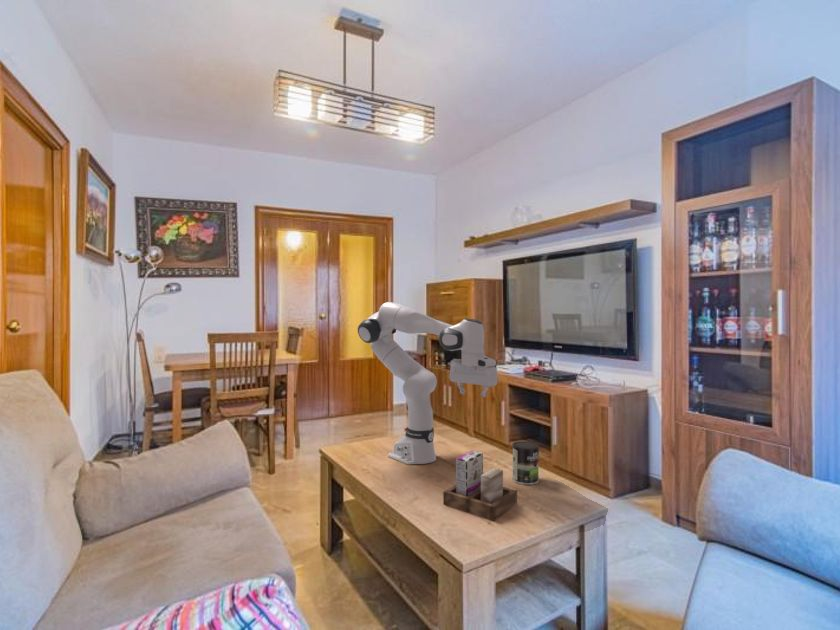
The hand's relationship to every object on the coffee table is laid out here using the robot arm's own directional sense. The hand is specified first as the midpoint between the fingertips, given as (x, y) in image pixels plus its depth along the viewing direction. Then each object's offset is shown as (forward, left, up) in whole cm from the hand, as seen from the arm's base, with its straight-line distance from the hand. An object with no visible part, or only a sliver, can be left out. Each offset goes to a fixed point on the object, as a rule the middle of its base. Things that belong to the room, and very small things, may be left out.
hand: (472, 395), depth 182 cm
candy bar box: (+9, -16, -34) cm, 39 cm away
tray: (+13, -16, -34) cm, 40 cm away
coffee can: (+16, +14, -34) cm, 40 cm away
